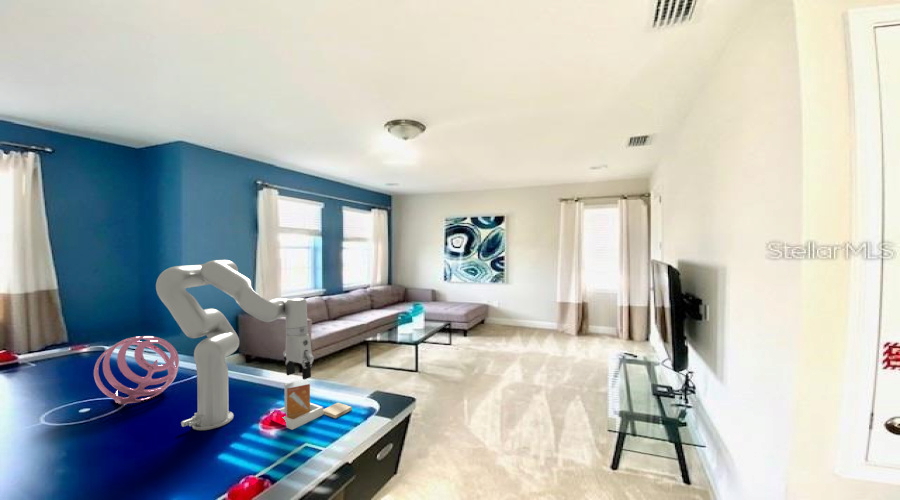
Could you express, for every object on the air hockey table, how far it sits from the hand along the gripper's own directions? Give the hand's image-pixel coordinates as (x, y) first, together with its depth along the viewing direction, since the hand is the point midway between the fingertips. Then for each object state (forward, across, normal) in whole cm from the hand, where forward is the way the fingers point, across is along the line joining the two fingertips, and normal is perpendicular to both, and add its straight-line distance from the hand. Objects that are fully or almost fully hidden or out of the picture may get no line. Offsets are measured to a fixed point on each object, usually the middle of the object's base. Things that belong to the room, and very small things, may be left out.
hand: (298, 376), depth 131 cm
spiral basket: (+14, +75, +25) cm, 80 cm away
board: (+16, -8, -10) cm, 21 cm away
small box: (+16, +1, +1) cm, 16 cm away
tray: (+16, +1, +1) cm, 16 cm away
